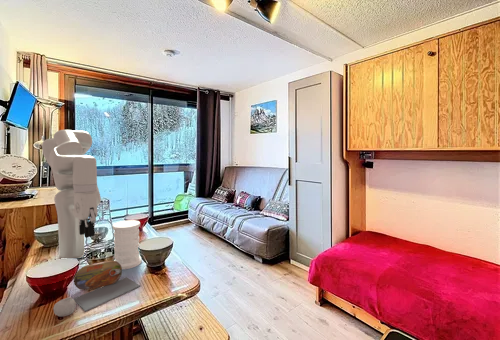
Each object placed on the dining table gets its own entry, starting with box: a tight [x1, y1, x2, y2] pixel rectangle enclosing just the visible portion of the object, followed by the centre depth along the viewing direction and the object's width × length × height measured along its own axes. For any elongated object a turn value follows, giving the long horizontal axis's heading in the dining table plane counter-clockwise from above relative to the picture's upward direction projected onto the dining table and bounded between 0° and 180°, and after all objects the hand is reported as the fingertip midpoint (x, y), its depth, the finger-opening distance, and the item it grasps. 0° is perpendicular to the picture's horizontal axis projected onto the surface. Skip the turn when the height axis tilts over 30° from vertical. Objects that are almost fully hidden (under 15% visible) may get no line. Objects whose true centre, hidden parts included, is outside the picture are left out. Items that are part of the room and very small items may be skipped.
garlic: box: [53, 296, 77, 317], centre depth 75 cm, size 6×5×5 cm
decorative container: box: [112, 219, 143, 270], centre depth 108 cm, size 12×12×18 cm
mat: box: [72, 276, 141, 313], centre depth 86 cm, size 10×18×1 cm, turn 144°
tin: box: [73, 260, 123, 291], centre depth 90 cm, size 15×3×8 cm, turn 117°
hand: (87, 234), depth 95 cm, fingers open, 4 cm apart
